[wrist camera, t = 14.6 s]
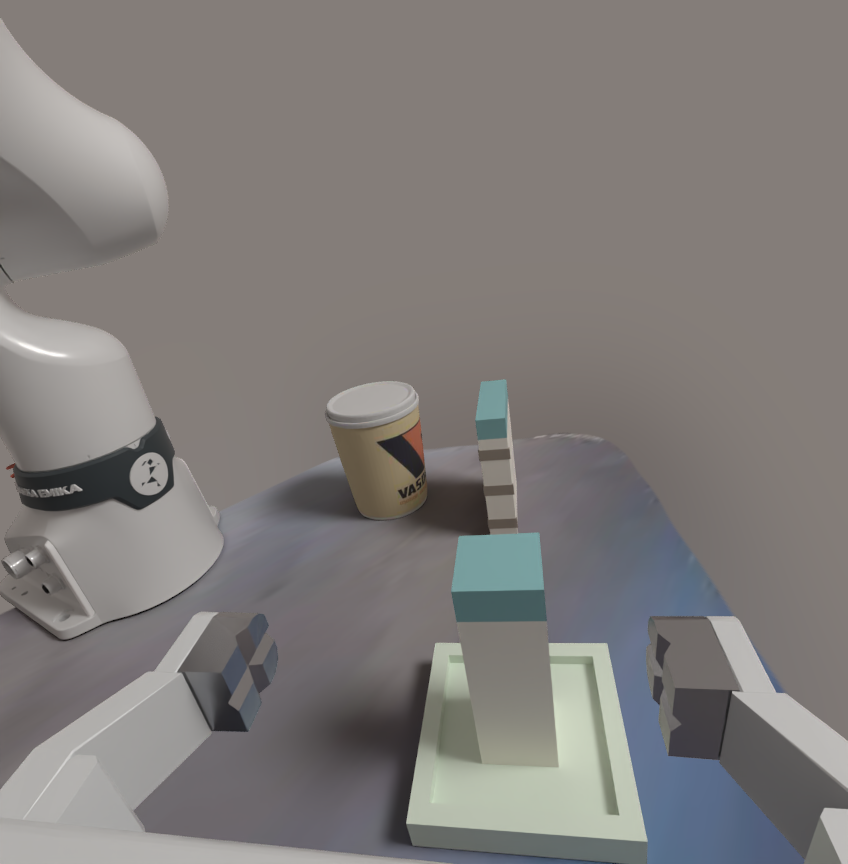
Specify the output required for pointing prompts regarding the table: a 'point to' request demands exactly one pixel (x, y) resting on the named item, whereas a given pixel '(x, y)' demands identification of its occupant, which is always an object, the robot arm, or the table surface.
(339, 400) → the coffee cup
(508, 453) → the teal and white box
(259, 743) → the table surface
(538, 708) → the white teal-topped block
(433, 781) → the tray
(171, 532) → the robot arm
